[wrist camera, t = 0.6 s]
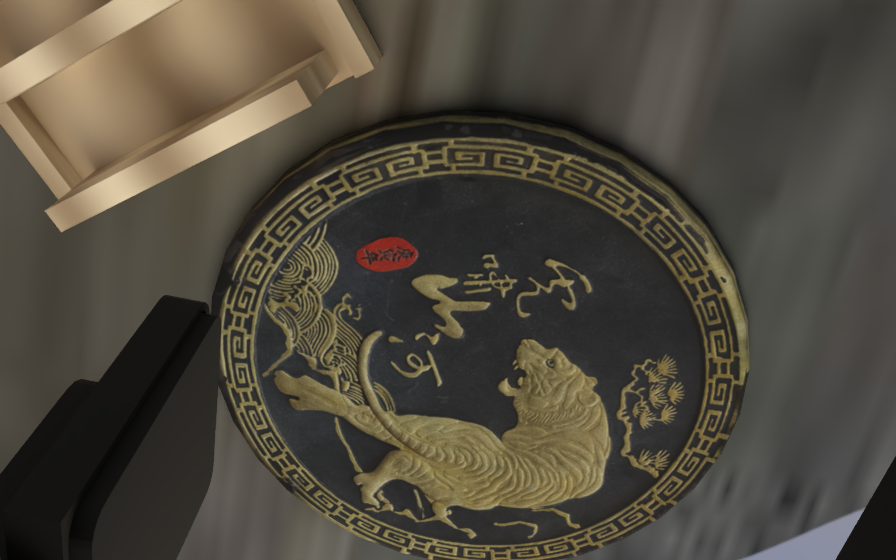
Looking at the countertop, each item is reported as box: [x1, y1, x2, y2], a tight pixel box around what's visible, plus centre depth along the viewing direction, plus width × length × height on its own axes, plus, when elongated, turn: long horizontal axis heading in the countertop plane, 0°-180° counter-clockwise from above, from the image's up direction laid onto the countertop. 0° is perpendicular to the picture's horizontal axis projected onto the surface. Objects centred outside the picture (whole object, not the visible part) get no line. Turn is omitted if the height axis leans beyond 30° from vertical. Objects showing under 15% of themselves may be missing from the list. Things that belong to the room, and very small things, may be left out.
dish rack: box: [0, 0, 383, 232], centre depth 37 cm, size 18×14×6 cm
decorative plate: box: [211, 111, 750, 560], centre depth 47 cm, size 30×2×30 cm
